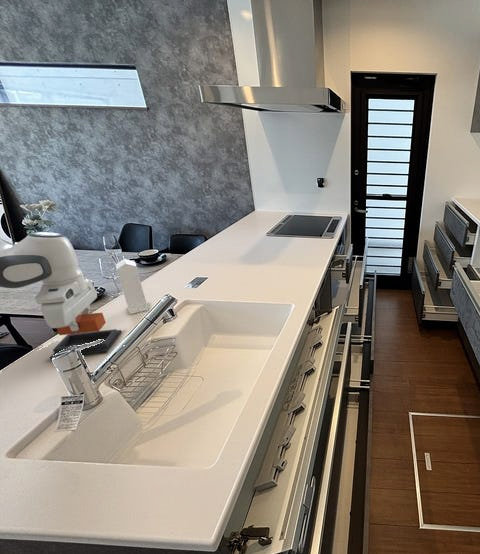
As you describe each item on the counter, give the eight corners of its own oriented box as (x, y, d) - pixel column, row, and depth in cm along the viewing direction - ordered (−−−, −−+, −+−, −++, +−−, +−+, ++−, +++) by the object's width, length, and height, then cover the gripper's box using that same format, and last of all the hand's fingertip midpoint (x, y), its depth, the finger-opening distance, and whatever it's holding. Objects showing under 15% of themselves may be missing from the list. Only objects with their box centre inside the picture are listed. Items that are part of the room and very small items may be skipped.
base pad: (50, 360, 92) (47, 353, 91) (72, 337, 102) (69, 331, 102) (106, 352, 96) (104, 346, 95) (121, 332, 107) (119, 326, 106)
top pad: (59, 335, 93) (54, 324, 92) (68, 326, 98) (64, 316, 96) (98, 331, 96) (94, 320, 95) (105, 322, 101) (102, 312, 99)
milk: (130, 314, 118) (113, 261, 109) (128, 308, 122) (112, 256, 113) (148, 309, 121) (134, 258, 112) (147, 303, 126) (132, 253, 117)
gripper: (72, 272, 99) (85, 309, 104) (30, 301, 81) (49, 344, 87) (95, 271, 101) (108, 307, 106) (60, 299, 83) (77, 341, 88)
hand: (81, 324), depth 96 cm, fingers closed on top pad, 5 cm apart
